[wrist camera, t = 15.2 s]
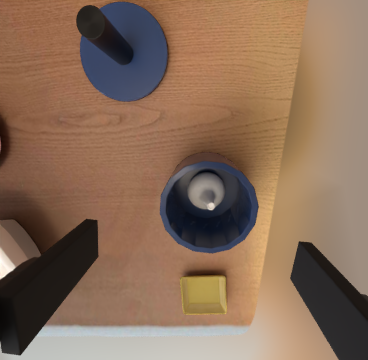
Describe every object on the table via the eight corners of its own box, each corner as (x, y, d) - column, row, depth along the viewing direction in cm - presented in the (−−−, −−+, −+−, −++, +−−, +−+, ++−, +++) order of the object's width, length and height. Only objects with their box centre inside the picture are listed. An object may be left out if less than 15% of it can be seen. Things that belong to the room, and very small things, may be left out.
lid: (171, 9, 32) (157, -53, 21) (165, 105, 35) (150, 95, 24) (82, 3, 32) (23, -61, 21) (84, 98, 36) (34, 85, 25)
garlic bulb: (196, 164, 36) (196, 174, 29) (230, 179, 37) (238, 193, 29) (182, 196, 38) (178, 214, 30) (214, 210, 38) (218, 231, 30)
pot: (247, 155, 36) (266, 167, 26) (236, 224, 39) (248, 258, 29) (173, 148, 37) (163, 156, 26) (168, 216, 40) (157, 247, 29)
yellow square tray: (224, 269, 41) (225, 276, 39) (225, 306, 43) (227, 314, 41) (180, 270, 42) (179, 277, 40) (183, 306, 44) (183, 314, 42)
